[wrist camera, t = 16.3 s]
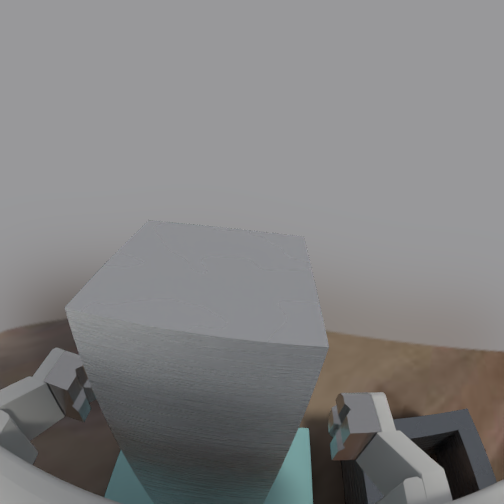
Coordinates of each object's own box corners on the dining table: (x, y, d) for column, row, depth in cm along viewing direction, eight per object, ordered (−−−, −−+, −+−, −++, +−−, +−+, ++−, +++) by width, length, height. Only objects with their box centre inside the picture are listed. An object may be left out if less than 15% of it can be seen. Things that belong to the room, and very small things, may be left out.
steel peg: (251, 472, 14) (303, 236, 8) (246, 533, 10) (328, 346, 4) (180, 463, 14) (149, 220, 8) (166, 522, 10) (64, 307, 4)
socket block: (446, 432, 16) (467, 408, 15) (475, 528, 8) (505, 510, 7) (339, 445, 16) (354, 421, 15) (350, 566, 8) (374, 560, 7)
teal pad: (306, 432, 17) (308, 428, 17) (311, 587, 7) (314, 587, 7) (139, 410, 17) (137, 405, 17) (90, 553, 7) (86, 551, 7)
